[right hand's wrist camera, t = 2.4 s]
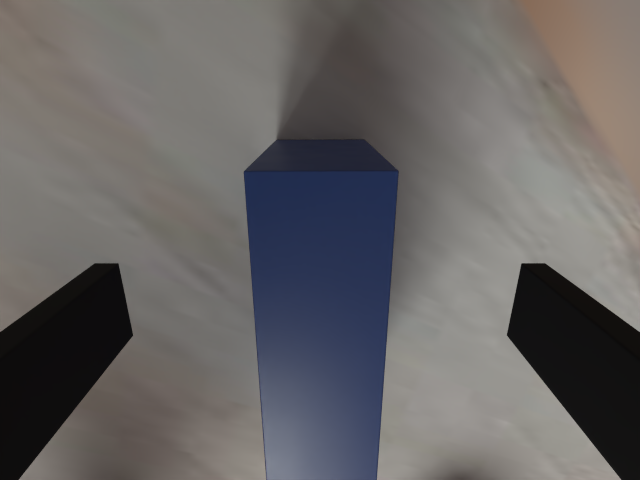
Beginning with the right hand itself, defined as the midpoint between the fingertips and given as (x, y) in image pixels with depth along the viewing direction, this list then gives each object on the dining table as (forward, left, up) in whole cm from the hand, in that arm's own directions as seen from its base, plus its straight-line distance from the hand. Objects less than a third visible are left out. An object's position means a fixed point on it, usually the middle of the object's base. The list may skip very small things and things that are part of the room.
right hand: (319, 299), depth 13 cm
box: (+7, +2, -16) cm, 17 cm away
